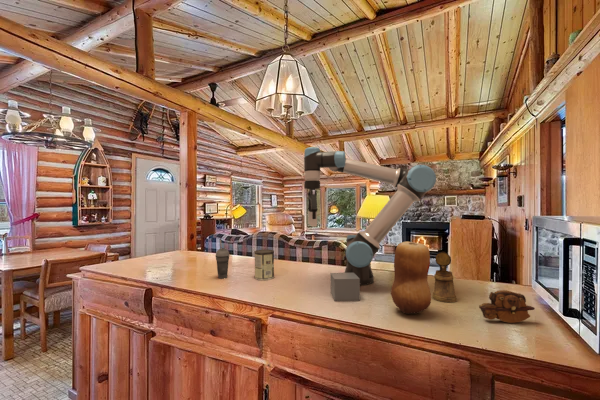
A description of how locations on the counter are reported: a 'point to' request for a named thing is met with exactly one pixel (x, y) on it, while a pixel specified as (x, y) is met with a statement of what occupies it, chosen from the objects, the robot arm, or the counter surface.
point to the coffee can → (264, 264)
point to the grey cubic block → (345, 286)
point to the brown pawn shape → (443, 280)
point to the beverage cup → (222, 262)
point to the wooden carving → (506, 307)
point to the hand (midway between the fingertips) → (312, 225)
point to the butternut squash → (411, 277)
